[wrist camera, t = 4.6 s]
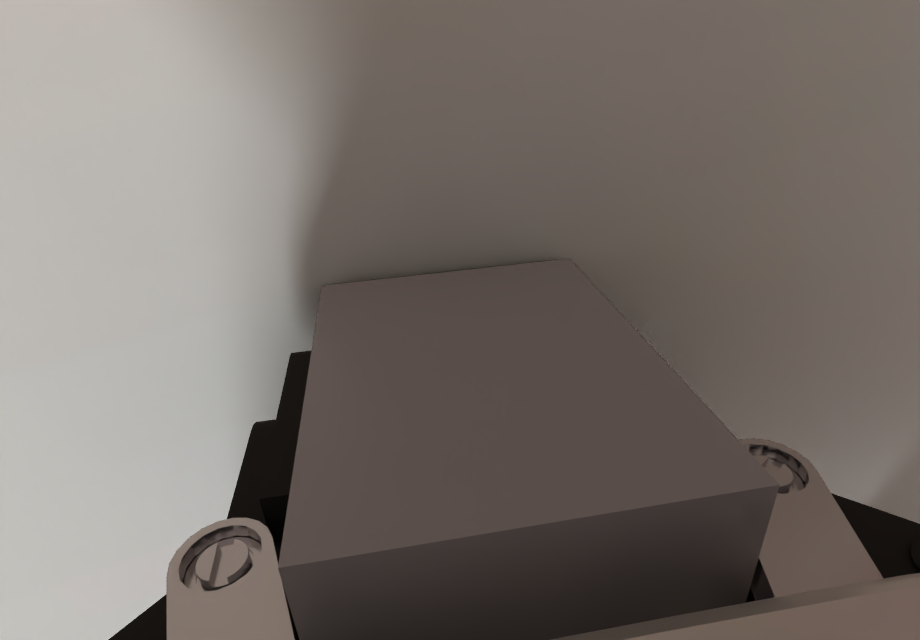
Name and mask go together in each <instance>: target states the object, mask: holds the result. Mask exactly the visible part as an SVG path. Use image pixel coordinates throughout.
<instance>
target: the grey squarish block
mask: <svg viewBox="0 0 920 640" xmlns="http://www.w3.org/2000/svg"><path fill="white" fill-rule="evenodd" d="M779 486H780V484H779V483H778V482H777V481H776V480H775V479H774V478H773V477H772V476H771V475H770V474H769V473H768V472H767V470H766V469H765V468H764V467H763V466H762V465H761V464H760V463H759V462H758V461H757V460H756V459H755V458H754V456H753V455H752V454H751V453H750V452H749V451H748V450H747V449H746V448H745V447H744V446H743V445H742V444H741V442H740V441H739V440H738V439H737V438H736V437H735V436H734V435H733V434H732V433H731V432H730V431H729V430H728V428H727V427H726V426H725V425H724V424H723V423H722V422H721V421H720V420H719V419H718V418H717V417H716V416H715V414H714V413H713V412H712V411H711V410H710V409H709V408H708V407H707V406H706V405H705V404H704V403H703V402H702V400H701V399H700V398H699V397H698V396H697V395H696V394H695V393H694V392H693V391H692V390H691V389H690V388H689V386H688V385H687V384H686V383H685V382H684V381H683V380H682V379H681V378H680V377H679V376H678V375H677V374H676V372H675V371H674V370H673V369H672V368H671V367H670V366H669V365H668V364H667V363H666V362H665V361H664V360H663V358H662V357H661V356H660V355H659V354H658V353H657V352H656V351H655V350H654V349H653V348H652V347H651V346H650V344H649V343H648V342H647V341H646V340H645V339H644V338H643V337H642V336H641V335H640V334H639V333H638V332H637V330H636V329H635V328H634V327H633V326H632V325H631V324H630V323H629V322H628V321H627V320H626V319H625V318H624V316H623V315H622V314H621V313H620V312H619V311H618V310H617V309H616V308H615V307H614V306H613V305H612V304H611V302H610V301H609V300H608V299H607V298H606V297H605V296H604V295H603V294H602V293H601V292H600V291H599V290H598V288H597V287H596V286H595V285H594V284H593V283H592V282H591V281H590V280H589V279H588V278H587V277H586V276H585V274H584V273H583V272H582V271H581V270H580V269H579V268H578V267H577V266H576V265H575V264H574V263H573V262H572V260H571V259H570V258H569V259H560V260H550V261H541V262H532V263H523V264H514V265H505V266H496V267H487V268H478V269H469V270H460V271H450V272H441V273H432V274H423V275H414V276H405V277H396V278H387V279H378V280H369V281H360V282H350V283H341V284H332V285H323V286H321V293H320V299H319V306H318V312H317V319H316V325H315V332H314V338H313V345H312V351H311V357H310V364H309V370H308V377H307V383H306V390H305V396H304V403H303V409H302V416H301V422H300V429H299V435H298V441H297V448H296V454H295V461H294V467H293V474H292V480H291V487H290V493H289V500H288V506H287V512H286V519H285V525H284V532H283V538H282V545H281V551H280V558H279V564H278V570H279V573H280V577H281V580H282V583H283V587H284V590H285V593H286V597H287V600H288V603H289V607H290V610H291V613H292V616H293V620H294V623H295V626H296V630H297V633H298V636H299V640H551V639H556V638H561V637H567V636H572V635H577V634H582V633H588V632H593V631H598V630H603V629H609V628H614V627H619V626H624V625H630V624H635V623H640V622H645V621H651V620H656V619H661V618H666V617H672V616H677V615H682V614H688V613H693V612H699V611H704V610H709V609H715V608H720V607H725V606H731V605H736V604H742V603H746V600H747V597H748V593H749V590H750V586H751V583H752V579H753V576H754V572H755V569H756V565H757V562H758V558H759V555H760V551H761V548H762V545H763V541H764V538H765V534H766V531H767V527H768V524H769V520H770V517H771V513H772V510H773V506H774V503H775V499H776V496H777V493H778V489H779Z"/></svg>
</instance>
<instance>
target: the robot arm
mask: <svg viewBox="0 0 920 640" xmlns="http://www.w3.org/2000/svg"><path fill="white" fill-rule="evenodd" d="M310 357H311V351H305V352H296V353H291V355H290V359H289V363H288V368H287V372H286V377H285V382H284V386H283V391H282V395H281V400H280V404H279V409H278V414H277V418H276V420H269V421H261V422H256V423H255V424H254V425H253V427H252V430H251V434H250V437H249V441H248V444H247V448H246V452H245V455H244V459H243V463H242V466H241V470H240V474H239V477H238V481H237V484H236V488H235V492H234V495H233V499H232V503H231V506H230V510H229V514H228V517H227V519H226V520H222V521H218V522H215V523H213V524H211V525H209V526H207V527H205V528H202V529H201V530H199V531H198V532H197V533H195V534H194V535H192V536H191V537H190V538H188V539H187V540H186V541H185V542H184V543H183V544H182V546H181V547H180V548H179V549H178V550H177V551H176V553H175V554H174V556H173V558H172V560H171V561H170V563H169V567H168V572H167V594H166V595H165V596H164V597H162V598H161V599H160V600H159V601H157V602H156V603H155V604H153V605H152V606H151V607H150V608H148V609H147V610H146V611H145V612H143V613H142V614H141V615H139V616H138V617H137V618H136V619H134V620H133V621H132V622H131V623H129V624H128V625H127V626H125V627H124V628H123V629H122V630H120V631H119V632H118V633H117V634H115V635H114V636H113V637H111V638H110V639H109V640H299V636H298V633H297V630H296V626H295V623H294V620H293V616H292V613H291V610H290V607H289V603H288V600H287V597H286V593H285V590H284V587H283V583H282V580H281V577H280V573H279V570H278V564H279V558H280V551H281V545H282V538H283V532H284V525H285V519H286V512H287V506H288V500H289V493H290V487H291V480H292V474H293V467H294V461H295V454H296V448H297V441H298V435H299V429H300V422H301V416H302V409H303V403H304V396H305V390H306V383H307V377H308V370H309V364H310ZM739 441H740V442H741V444H742V445H743V446H744V447H745V448H746V449H747V450H748V451H749V452H750V453H751V454H752V455H753V456H754V458H755V459H756V460H757V461H758V462H759V463H760V464H761V465H762V466H763V467H764V468H765V469H766V470H767V472H768V473H769V474H770V475H771V476H772V477H773V478H774V479H775V480H776V481H777V482H778V483H779V484H780V486H779V489H778V493H777V496H776V499H775V503H774V506H773V510H772V513H771V517H770V520H769V524H768V527H767V531H766V534H765V538H764V541H763V545H762V548H761V551H760V555H759V558H758V562H757V565H756V569H755V572H754V576H753V579H752V583H751V586H750V590H749V593H748V597H747V600H746V603H742V604H736V605H731V606H725V607H720V608H715V609H709V610H704V611H699V612H693V613H688V614H682V615H677V616H672V617H666V618H661V619H656V620H651V621H645V622H640V623H635V624H630V625H624V626H619V627H614V628H609V629H603V630H598V631H593V632H588V633H582V634H577V635H572V636H567V637H561V638H556V639H551V640H920V524H918V523H915V522H913V521H910V520H907V519H904V518H901V517H898V516H895V515H892V514H889V513H887V512H884V511H881V510H878V509H875V508H872V507H869V506H866V505H863V504H861V503H858V502H855V501H852V500H849V499H846V498H843V497H840V496H837V495H835V494H832V493H831V492H830V491H829V489H828V488H827V486H826V484H825V483H824V481H823V479H822V478H821V476H820V475H819V473H818V471H817V470H816V469H815V467H814V466H813V465H812V464H811V463H810V461H809V460H808V459H806V458H805V457H803V456H802V455H801V454H799V453H798V452H797V451H795V450H793V449H790V448H788V447H786V446H784V445H782V444H779V443H775V442H772V441H769V440H762V439H754V438H752V439H740V440H739Z"/></svg>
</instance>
